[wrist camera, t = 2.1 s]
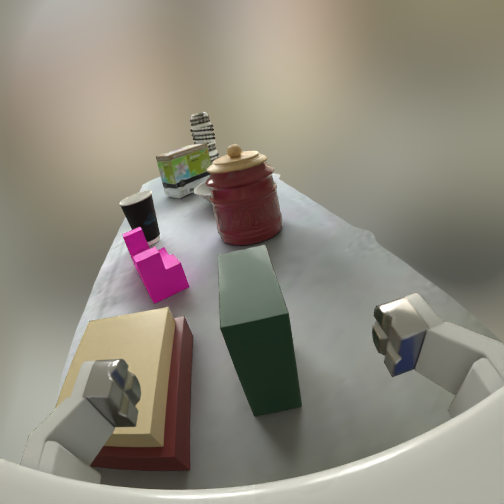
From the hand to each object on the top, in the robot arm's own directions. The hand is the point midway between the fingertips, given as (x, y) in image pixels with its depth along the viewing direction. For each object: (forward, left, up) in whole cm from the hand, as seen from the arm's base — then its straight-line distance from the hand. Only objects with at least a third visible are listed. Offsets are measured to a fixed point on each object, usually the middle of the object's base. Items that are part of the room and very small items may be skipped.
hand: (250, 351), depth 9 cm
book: (+13, 0, -18) cm, 22 cm away
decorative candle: (+114, +7, -18) cm, 116 cm away
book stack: (+12, +15, -18) cm, 26 cm away
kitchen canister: (+48, -2, -18) cm, 51 cm away
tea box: (+92, +14, -18) cm, 95 cm away
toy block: (+38, +16, -18) cm, 45 cm away
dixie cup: (+55, +21, -18) cm, 62 cm away
